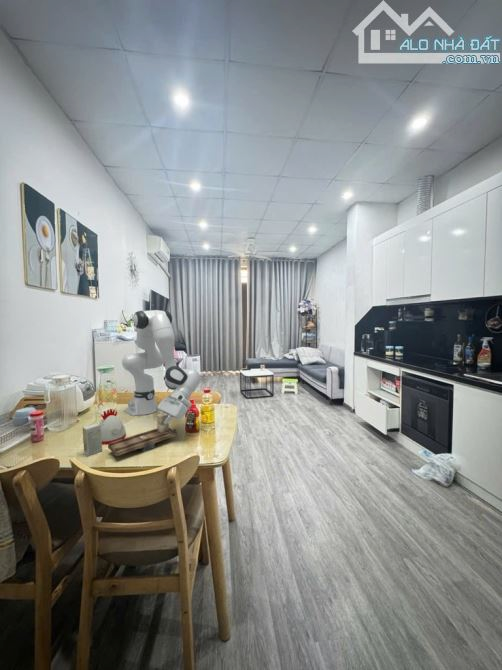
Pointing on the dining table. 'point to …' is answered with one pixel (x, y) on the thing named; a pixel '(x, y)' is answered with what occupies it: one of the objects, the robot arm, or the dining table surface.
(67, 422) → the dining table surface
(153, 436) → the balance beam
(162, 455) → the dining table surface
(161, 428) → the rider block
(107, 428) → the grey crested helmet
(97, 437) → the skincare box
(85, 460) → the dining table surface
